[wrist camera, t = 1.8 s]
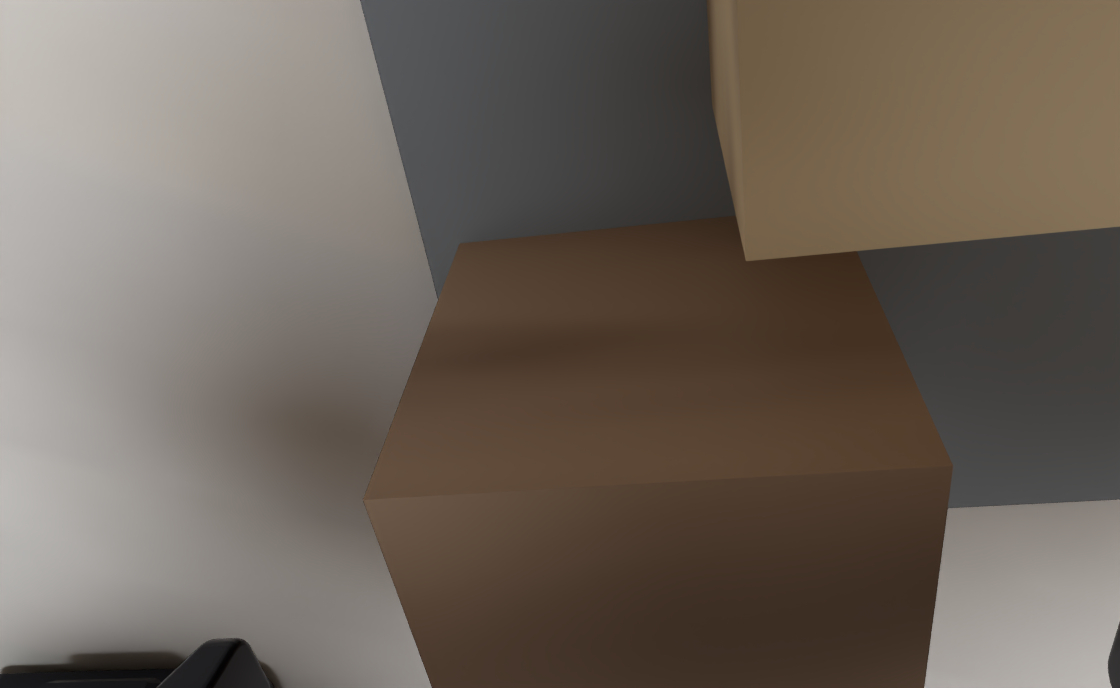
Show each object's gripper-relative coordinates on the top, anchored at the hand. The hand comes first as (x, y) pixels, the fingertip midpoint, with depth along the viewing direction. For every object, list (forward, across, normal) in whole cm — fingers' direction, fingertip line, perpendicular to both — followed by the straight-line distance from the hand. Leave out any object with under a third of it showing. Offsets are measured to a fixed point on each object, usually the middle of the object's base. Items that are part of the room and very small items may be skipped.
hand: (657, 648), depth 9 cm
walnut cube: (+5, 0, 0) cm, 5 cm away
